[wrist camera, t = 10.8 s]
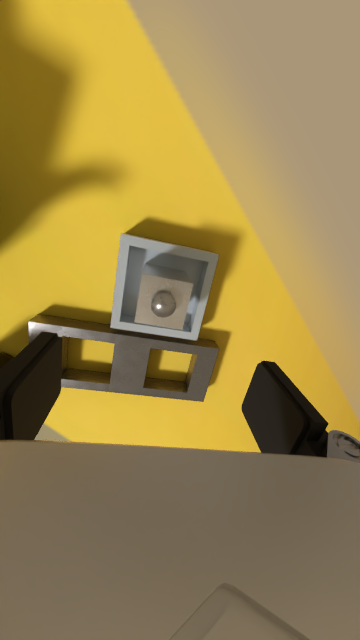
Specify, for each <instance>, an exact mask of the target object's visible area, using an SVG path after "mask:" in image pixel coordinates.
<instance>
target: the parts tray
mask: <svg viewBox="0 0 360 640" xmlns="http://www.w3.org/2000/svg"><path fill="white" fill-rule="evenodd" d="M218 258H219V255H218V254H216V253H214V252H209V251H205V250H200V249H196V248H191V247H186V246H182V245H177V244H173V243H168V242H163V241H159V240H154V239H149V238H145V237H140V236H136V235H131V234H126V233H122V234H121V238H120V247H119V256H118V265H117V273H116V282H115V291H114V300H113V308H112V317H111V326H110V328H116V329H122V330H129V331H136V332H142V333H149V334H156V335H163V336H169V337H176V338H183V339H189V340H196V341H197V338H198V334H199V331H200V327H201V323H202V319H203V315H204V311H205V308H206V304H207V300H208V296H209V292H210V289H211V285H212V281H213V277H214V273H215V269H216V266H217V262H218ZM145 263H147V264H152V265H157V266H162V267H167V268H172V269H177V270H181V271H185V272H186V273H187V275H188V276H189V278H190V279H191V281H192V282H193V288H192V292H191V296H190V300H189V304H188V309H187V313H186V317H185V321H184V325H183V330H180V329H173V328H167V327H161V326H155V325H148V324H142V323H136V322H135V315H136V309H137V303H138V296H139V290H140V284H141V277H142V272H143V269H144V266H145Z"/></svg>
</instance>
